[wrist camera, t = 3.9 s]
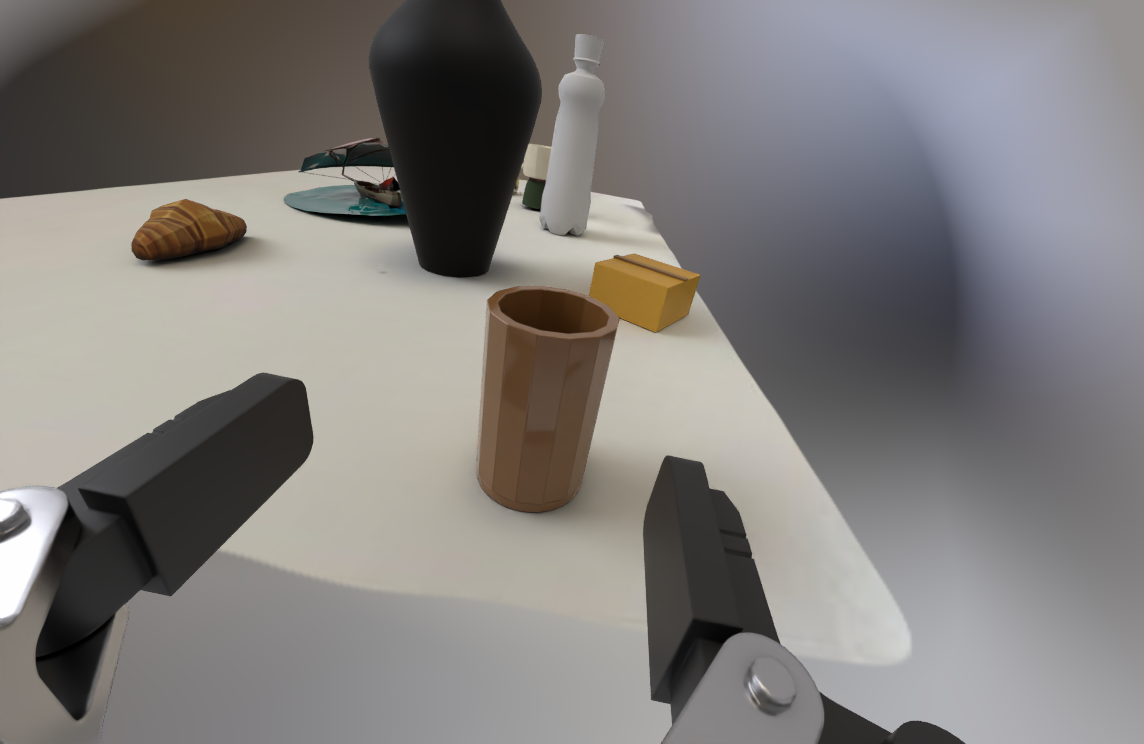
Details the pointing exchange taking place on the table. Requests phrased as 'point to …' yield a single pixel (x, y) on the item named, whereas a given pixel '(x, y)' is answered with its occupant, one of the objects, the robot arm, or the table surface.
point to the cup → (540, 393)
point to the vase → (455, 123)
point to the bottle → (574, 143)
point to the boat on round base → (352, 197)
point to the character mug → (535, 174)
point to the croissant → (185, 231)
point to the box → (644, 290)
